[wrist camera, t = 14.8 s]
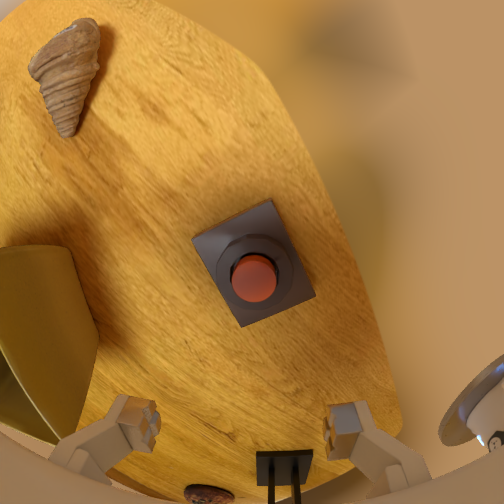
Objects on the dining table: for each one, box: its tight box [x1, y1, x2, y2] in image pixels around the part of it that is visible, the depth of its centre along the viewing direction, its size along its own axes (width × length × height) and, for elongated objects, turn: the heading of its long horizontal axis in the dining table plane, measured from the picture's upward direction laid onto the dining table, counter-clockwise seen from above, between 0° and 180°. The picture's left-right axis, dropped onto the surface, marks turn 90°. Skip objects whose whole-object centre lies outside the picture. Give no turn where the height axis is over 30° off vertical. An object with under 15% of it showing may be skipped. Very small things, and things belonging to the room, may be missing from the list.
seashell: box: [28, 18, 101, 138], centre depth 20 cm, size 14×8×8 cm
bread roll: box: [184, 484, 234, 504], centre depth 41 cm, size 11×11×5 cm
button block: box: [191, 198, 316, 328], centre depth 26 cm, size 10×8×4 cm
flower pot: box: [0, 245, 99, 447], centre depth 23 cm, size 19×19×17 cm
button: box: [232, 255, 276, 302], centre depth 24 cm, size 4×4×2 cm
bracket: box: [256, 450, 313, 504], centre depth 32 cm, size 12×9×14 cm
